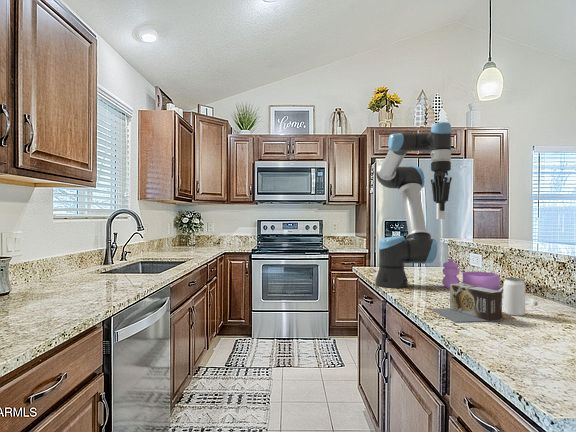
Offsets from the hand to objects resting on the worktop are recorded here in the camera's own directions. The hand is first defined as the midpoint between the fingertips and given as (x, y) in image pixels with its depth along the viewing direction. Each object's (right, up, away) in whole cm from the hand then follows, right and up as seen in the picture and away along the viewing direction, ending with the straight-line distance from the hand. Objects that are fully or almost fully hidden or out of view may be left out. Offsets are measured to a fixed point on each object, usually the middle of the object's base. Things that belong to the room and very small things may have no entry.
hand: (440, 219), depth 155 cm
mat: (-2, -33, -26) cm, 42 cm away
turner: (+10, -33, -24) cm, 41 cm away
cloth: (+26, -33, -2) cm, 42 cm away
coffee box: (-2, -28, -18) cm, 33 cm away
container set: (+23, -32, +22) cm, 45 cm away
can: (+16, -33, -24) cm, 44 cm away
